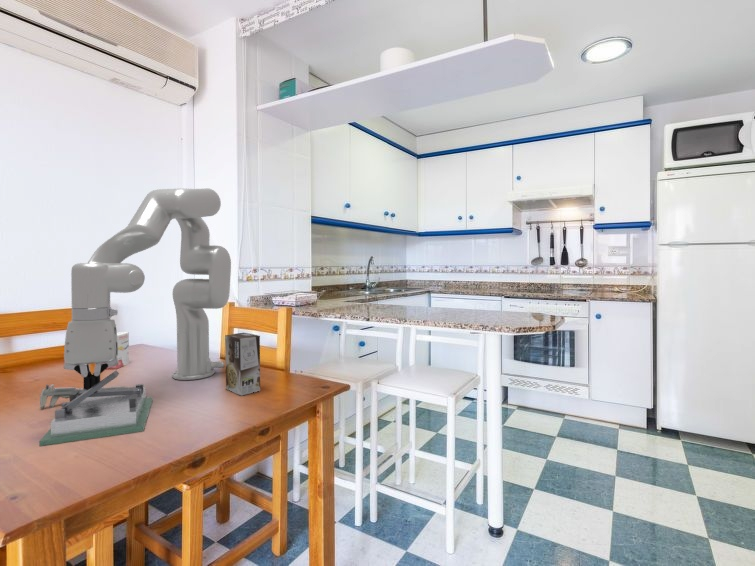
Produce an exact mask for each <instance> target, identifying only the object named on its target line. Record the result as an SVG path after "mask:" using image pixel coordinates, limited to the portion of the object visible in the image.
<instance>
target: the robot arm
mask: <svg viewBox="0 0 755 566" xmlns="http://www.w3.org/2000/svg"><path fill="white" fill-rule="evenodd" d="M221 205H222V204H221V198H220V196H219V194H218V193H217V192H216V191H215V190H214V189H212V188H162V189H161V188H160V189H159V188H158V189H154V190H151V191H149V192H148V193H147V194H146V196H145V197H144V199H143V200H142V201H141V204H140V205H139V207H138V209H137V210H136V212H135V213H134V214H133V216H132V218H131V220H130V221H129V222H128V224H127V226H126V227H125V228H123V229H122V230H120V231H118V232H116V233H115V234H114V235H113V236H111V237H110V238H108V239H107V240H105V241H104V242H102V243H101V244H100V245H99V247H97V249H96V250H95V251H94V252H93V254H92V255H91V257H90V259H89V260H88V262H79V263H75V264H74V265H72V267H71V270H70V271H71V274H70V276H71V281H70V282H71V285H70V287H71V320H70V321H68V323H67V326H66V327H67V328H66V331H65V338H64V339H65V341H64V347H63V348H64V350H63V351H64V352H63V360H64V364H63V367H62V368H63V370H69V371H75V372H76V373H78V374H79V375H80V376H81V377H82V378H83V388H84V390H86V391H87V390H88V389H90V388H91V387H93V386H94V385H96V384H97V383H98V382H100V381H101V374H102V373H103V372H104V371H105V370H107V369H106V368H109V367H113V366H116V365H118V363H119V361H118V358H117V356H118V339H117V332H118V330H117V324H116V321H115V319H112V317H114V316H118V314H119V313H118V309H113V308H112V306H111V293H117V294H118V293H120V294H122V293H123V294H126V293H127V294H129V293H133V292H136V291H138V290H140V289H141V288H142V286H143V285H144V283H145V279H146V278H145V272H144V271H143V270H142V269H141V268H140V267H139V266H138V265H136V264H133V263H127V262H125V263H124V262H123V261H124V260H126V259H127V258H129V257H131V256H133V255H135V254H138V253H140V252H144V251H146V250H147V249H151V248H153V247H154V246H156V245H158V244H159V242H161V239H162V237H163V236H164V233H165V232H166V230H167V228H168V226H169V224H171V221H172V220H174V219H175V220H176V222H177V223H178V225H179V228H180V232H181V233H180V235H181V236H180V237H181V238H180V251H179V252H180V255H179V267H180V269H181V271H182V273H185V274H188V275H194V276H195V275H199V276H200V275H201V276H203V275H204V276H205V275H206V276H208V278H186V279H181V280H179V281H178V282H176V284H175V285H174V286H173V289H172V300H173V305H174V309H175V316H176V352H177V353H176V355H177V356H176V357H177V361H176V362H177V364H176V365H177V370H176V371H173V372H172V374H171V376H172V379H174V380H178V381H194V380H201V379H205V378H208V377H211V376H213V375H215V369H216V368H217V369H222V368H223V369H224V368H225V361H219V360H217V361H212V360H211V358H210V323H209V322H210V321H209V318H208V315H207V313H206V311H205V309H206V310H207V309H208V310H209V309H211V310H212V309H213V310H214V309H215V310H217V309H222V308H224V307H225V306H227V304H228V302H229V299H230V291H231V275H232V261H231V260H232V259H231V256H230V253H229V251H228V250H227V249H226V248H225V246H222V245H221V246H220V245H211V244H210V236H211V235H210V234H211V233H210V229H209V227H208V224H207V223H206V222H205V221H204V219H203V218H207V217H213V216H214V215H215V216H216V214H218V212H219V211H220V209H221V207H222V206H221ZM122 262H123V263H122ZM105 362H107V363H105ZM103 363H104V364H103ZM90 364H94V370H93V373H92V372H91V369H90ZM94 393H95V392H94Z"/></svg>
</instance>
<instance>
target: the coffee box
mask: <svg viewBox="0 0 755 566" xmlns="http://www.w3.org/2000/svg"><path fill="white" fill-rule="evenodd" d="M260 339H261V335H257V334H253V333H248V332H238V333H233V334H226V335H224V353H225V354H224V355H225V357H224V358H225V390H226V389H227V391H229V390H230V391H229V392H231V391H232V392H231V393H234V394H236V395H239V396H241V397H242V396H245V395H249V394H254V393H258V392H257V391H259V392H261V340H260ZM253 392H254V393H253Z"/></svg>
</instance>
